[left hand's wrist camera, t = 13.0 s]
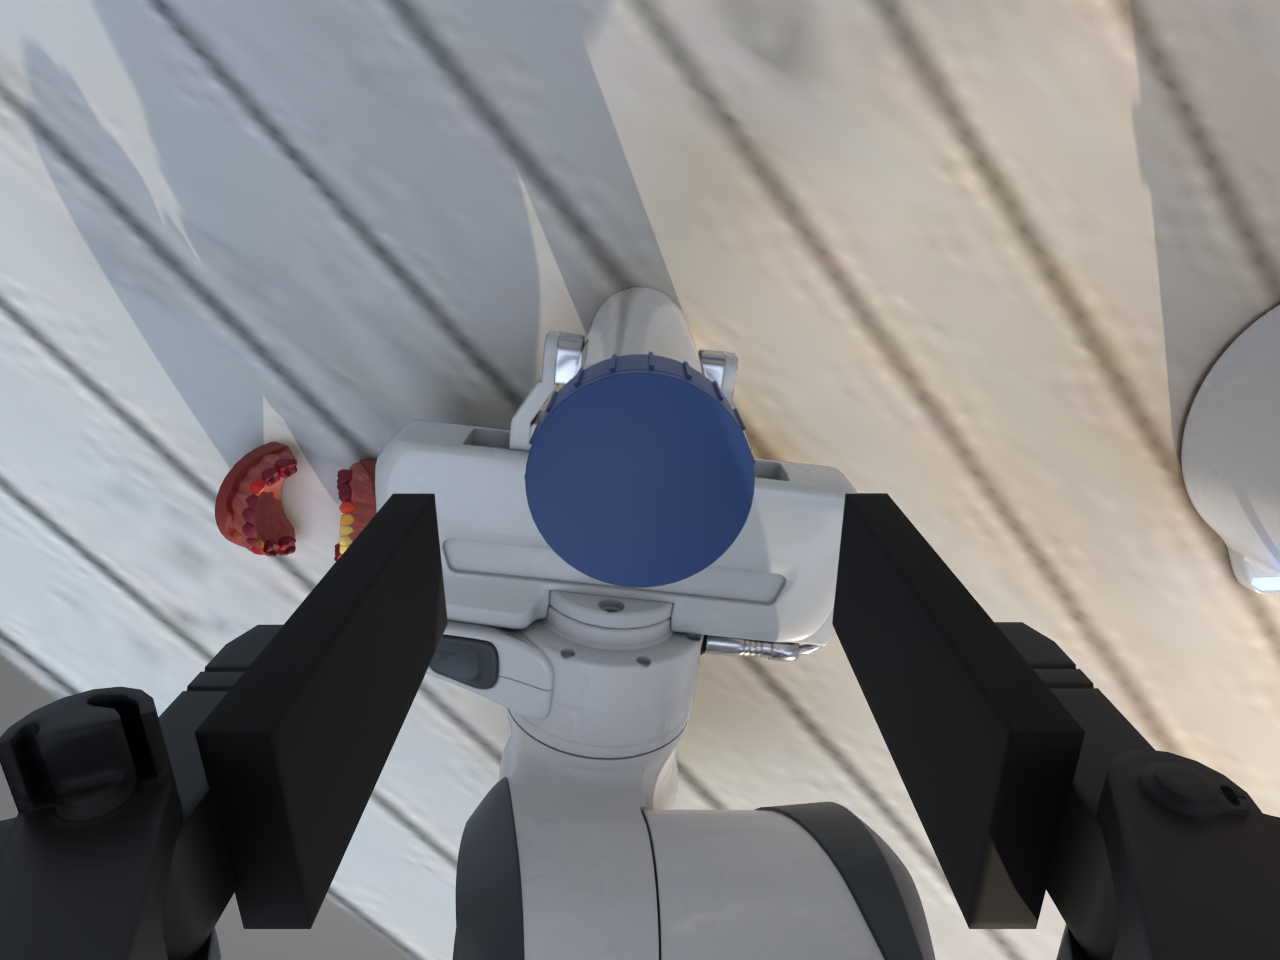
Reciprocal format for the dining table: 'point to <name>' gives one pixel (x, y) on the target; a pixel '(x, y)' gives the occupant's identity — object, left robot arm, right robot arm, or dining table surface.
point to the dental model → (256, 506)
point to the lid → (639, 472)
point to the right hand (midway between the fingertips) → (641, 343)
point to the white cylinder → (639, 329)
